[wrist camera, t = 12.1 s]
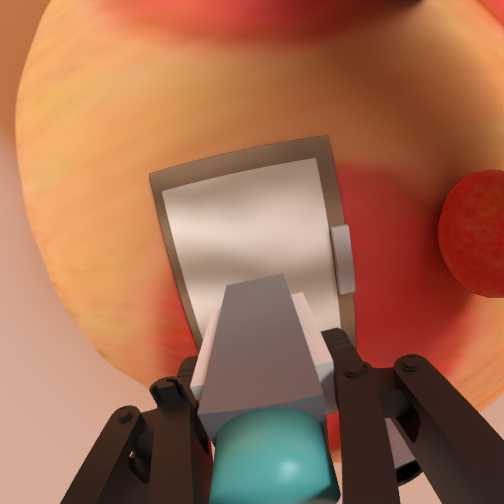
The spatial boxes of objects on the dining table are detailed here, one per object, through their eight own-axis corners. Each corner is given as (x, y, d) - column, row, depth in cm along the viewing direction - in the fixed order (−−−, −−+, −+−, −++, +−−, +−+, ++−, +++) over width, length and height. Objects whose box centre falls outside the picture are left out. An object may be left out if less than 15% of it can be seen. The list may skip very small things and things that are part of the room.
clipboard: (150, 173, 20) (145, 173, 18) (326, 136, 19) (331, 133, 18) (211, 381, 24) (209, 389, 22) (355, 352, 23) (359, 359, 22)
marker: (226, 285, 18) (183, 482, 5) (283, 273, 18) (345, 462, 5) (239, 334, 19) (227, 529, 6) (293, 323, 18) (343, 513, 5)
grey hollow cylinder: (368, 379, 24) (409, 457, 14) (397, 390, 24) (439, 458, 14) (340, 410, 25) (367, 489, 15) (370, 419, 25) (401, 489, 15)
